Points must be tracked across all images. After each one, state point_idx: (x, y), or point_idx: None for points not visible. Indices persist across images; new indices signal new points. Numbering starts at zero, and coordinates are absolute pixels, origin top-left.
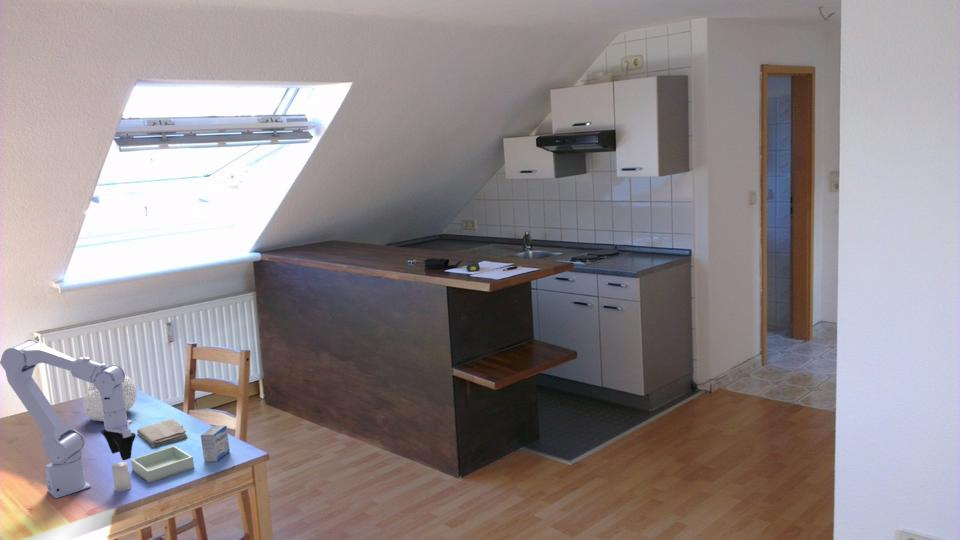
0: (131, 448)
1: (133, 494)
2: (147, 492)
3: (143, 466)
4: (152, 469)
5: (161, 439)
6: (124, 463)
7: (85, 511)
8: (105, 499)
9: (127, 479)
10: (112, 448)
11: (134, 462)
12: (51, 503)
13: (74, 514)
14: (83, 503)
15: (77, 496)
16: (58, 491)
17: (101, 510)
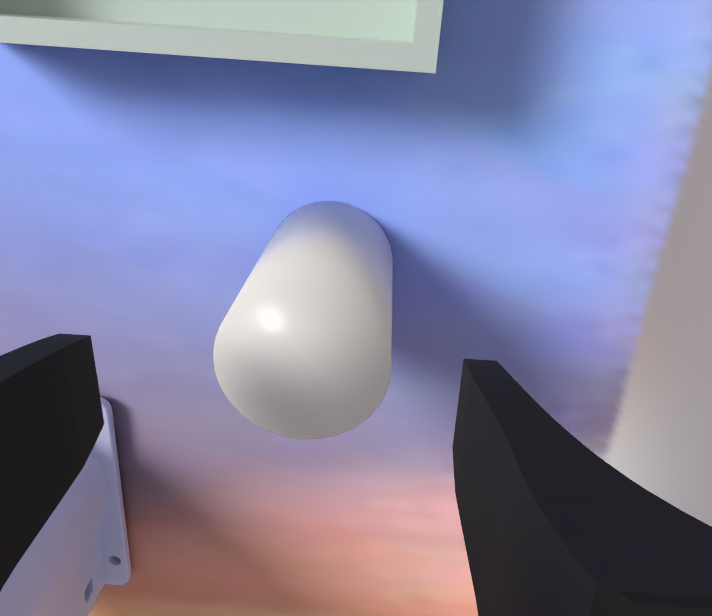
0: (573, 439)
1: (524, 262)
2: (603, 172)
3: (237, 34)
4: (421, 2)
5: None
6: (298, 314)
7: None
8: (412, 417)
9: (387, 273)
10: (64, 469)
11: (16, 42)
12: (177, 602)
13: (456, 592)
14: (343, 514)
15: (195, 495)
16: (92, 580)
17: None
